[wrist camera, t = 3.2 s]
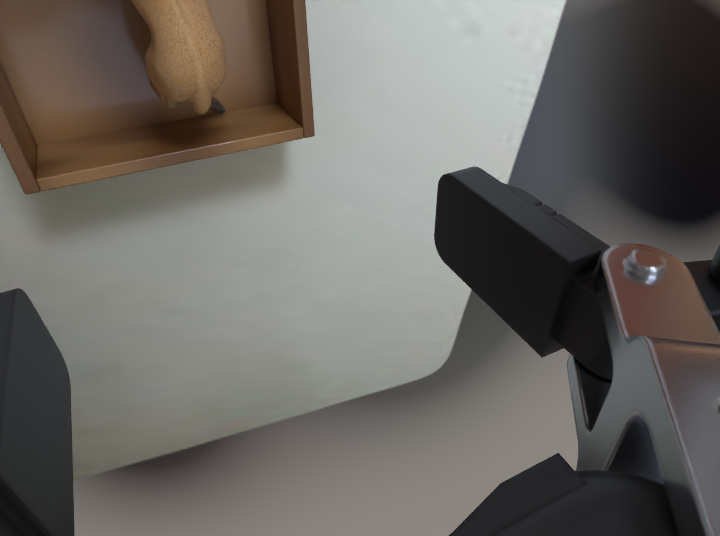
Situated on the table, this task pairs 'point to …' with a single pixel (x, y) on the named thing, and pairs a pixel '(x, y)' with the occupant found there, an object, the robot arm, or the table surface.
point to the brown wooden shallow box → (140, 89)
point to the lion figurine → (184, 53)
